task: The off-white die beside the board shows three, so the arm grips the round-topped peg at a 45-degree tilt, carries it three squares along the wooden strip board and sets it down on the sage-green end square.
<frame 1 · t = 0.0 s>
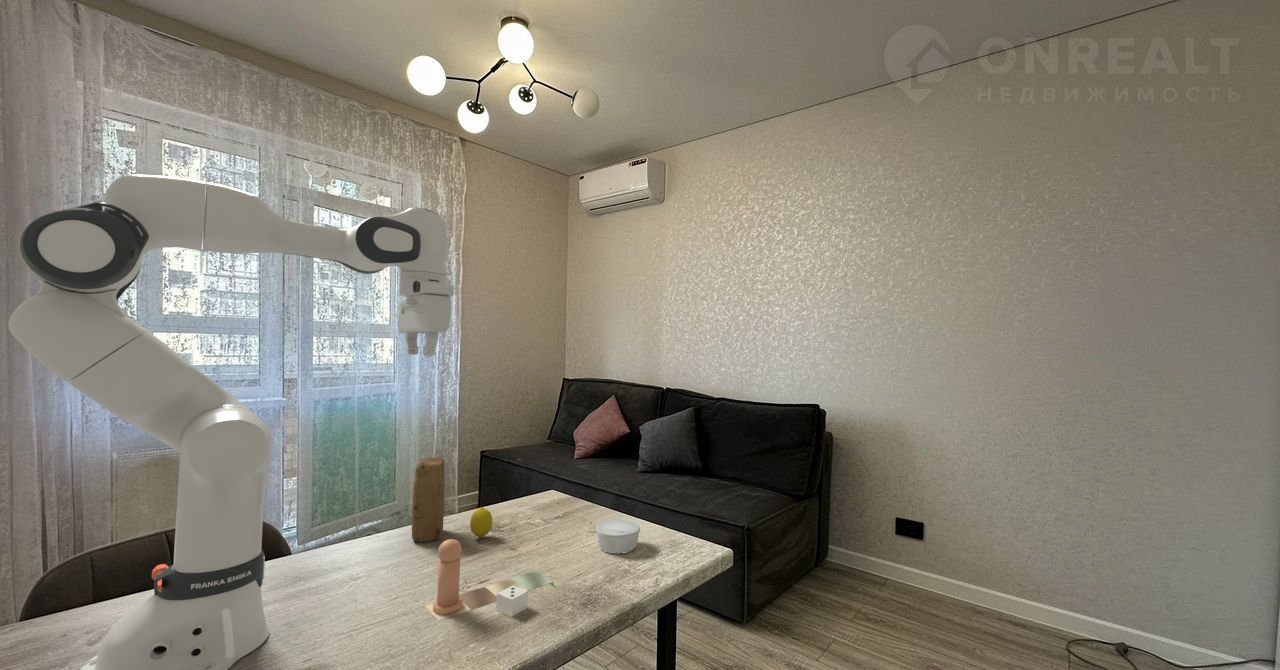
hand: (420, 355, 104), 48 cm above the table, tool pointing down, fingers open, 8 cm apart
board: (492, 597, 101), on the table
ramekin: (617, 548, 128), on the table
die: (511, 613, 95), on the table
lemon: (480, 539, 132), on the table
round-topped peg: (447, 607, 95), point 1 cm above the table, touching board
block: (427, 536, 132), on the table
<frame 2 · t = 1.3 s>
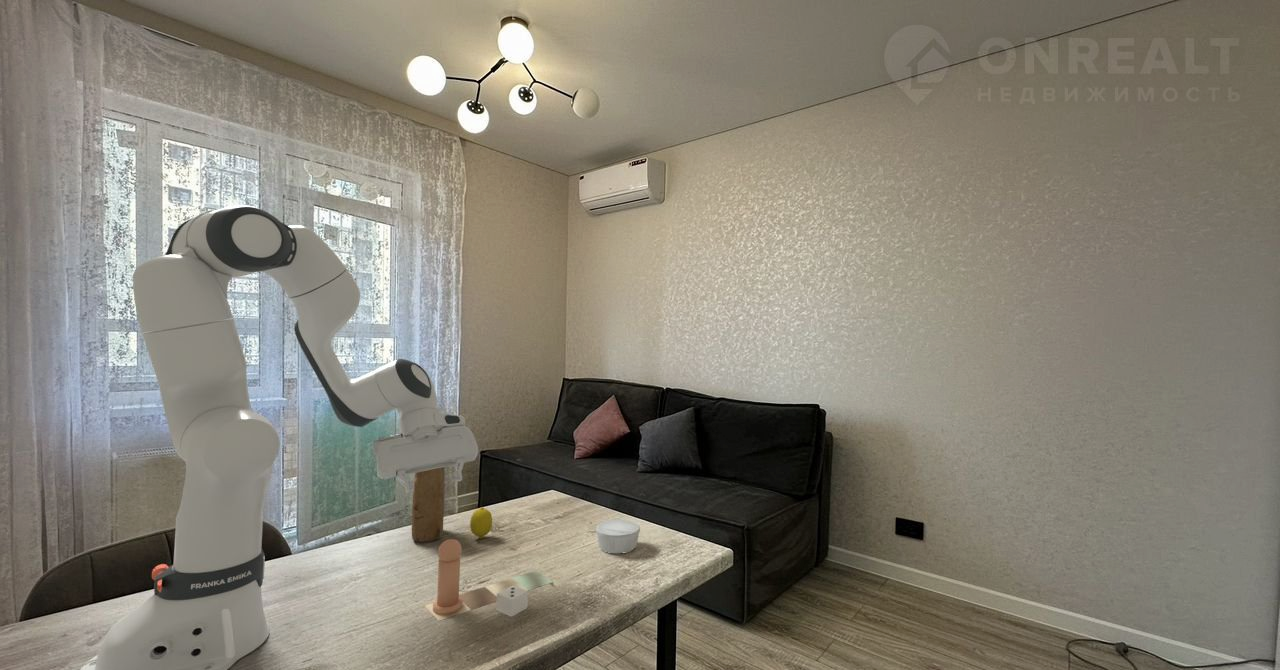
hand: (435, 485, 105), 21 cm above the table, tool tilted 45°, fingers open, 8 cm apart
nothing on the table moved.
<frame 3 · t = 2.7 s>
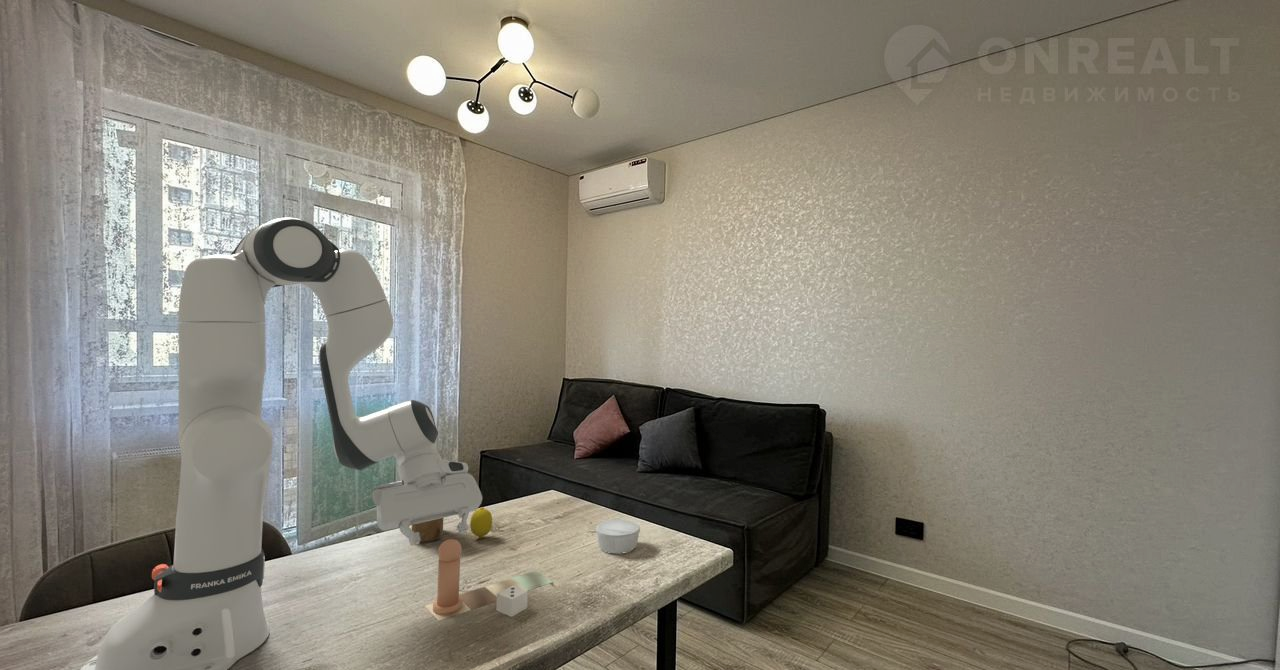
hand: (440, 537, 99), 12 cm above the table, tool tilted 45°, fingers open, 8 cm apart
nothing on the table moved.
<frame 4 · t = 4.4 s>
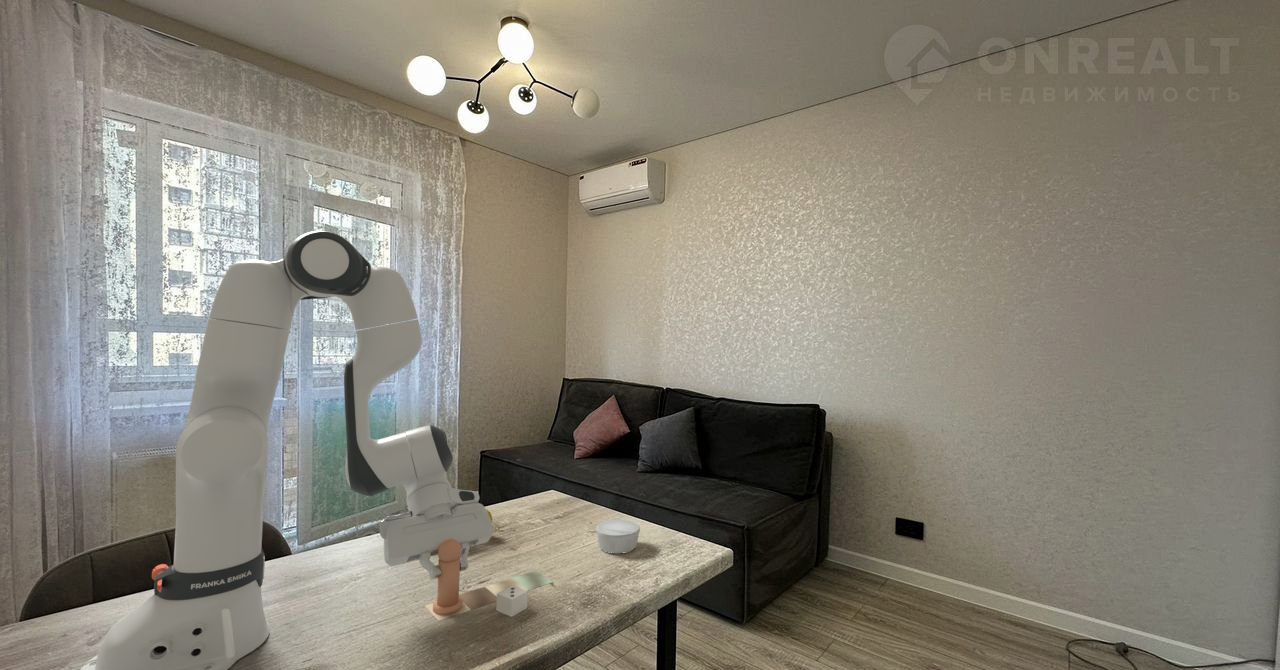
hand: (450, 573, 94), 7 cm above the table, tool tilted 45°, fingers closed on round-topped peg, 4 cm apart
round-topped peg: (447, 607, 95), point 1 cm above the table, touching board, gripper
everything else where it was.
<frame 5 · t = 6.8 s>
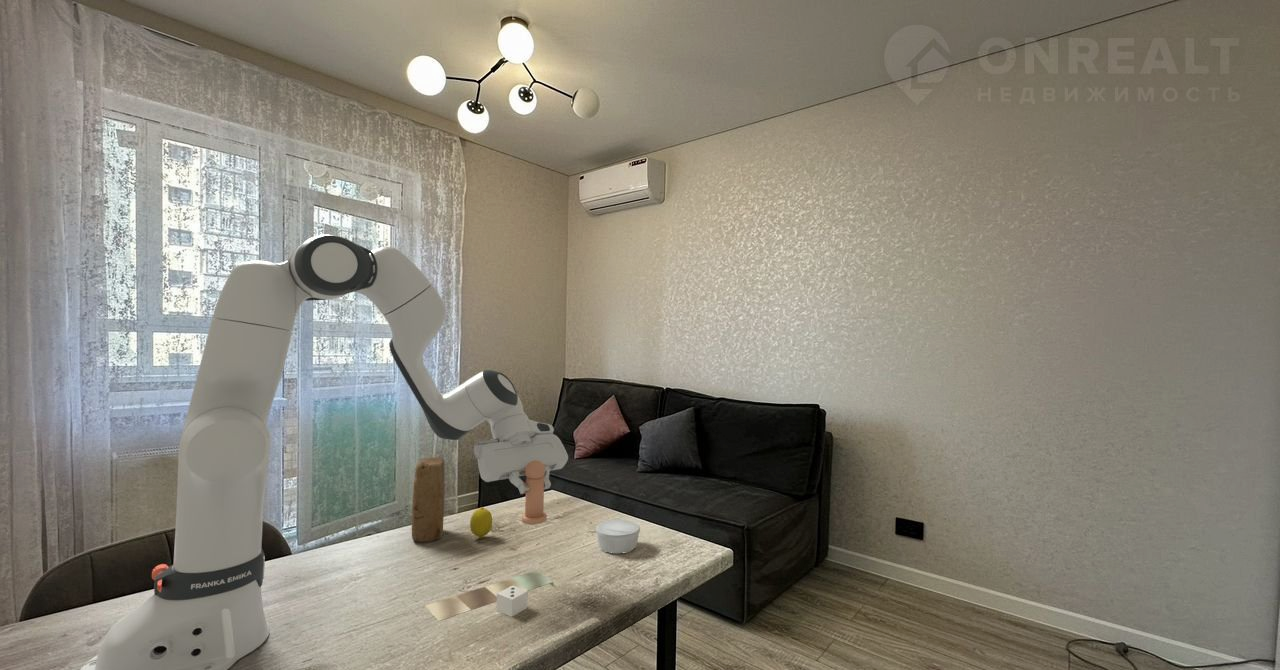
hand: (536, 489, 107), 20 cm above the table, tool tilted 45°, fingers closed on round-topped peg, 4 cm apart
round-topped peg: (534, 520, 107), point 13 cm above the table, touching gripper
everything else where it was.
when the fingers open (9 cm above the table, at t = 9.2 s): round-topped peg drops 1 cm, resting on board.
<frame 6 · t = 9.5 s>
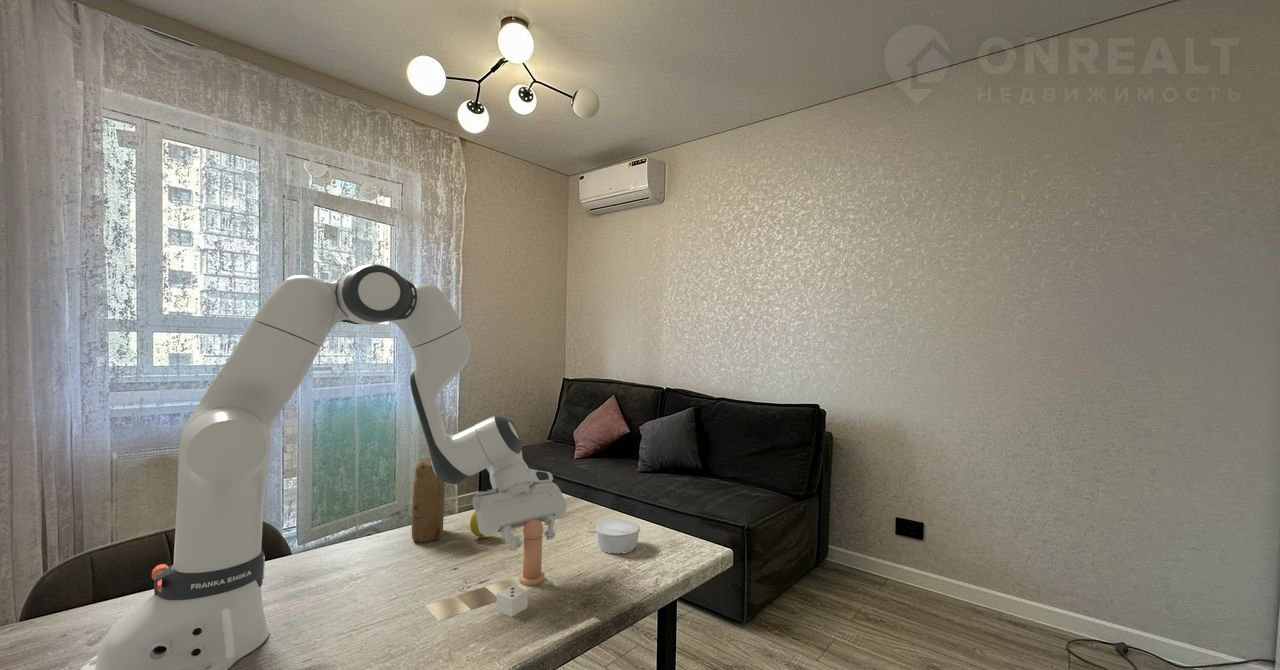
hand: (534, 542, 106), 9 cm above the table, tool tilted 45°, fingers open, 7 cm apart
round-topped peg: (531, 580, 107), point 1 cm above the table, touching board
everything else where it was.
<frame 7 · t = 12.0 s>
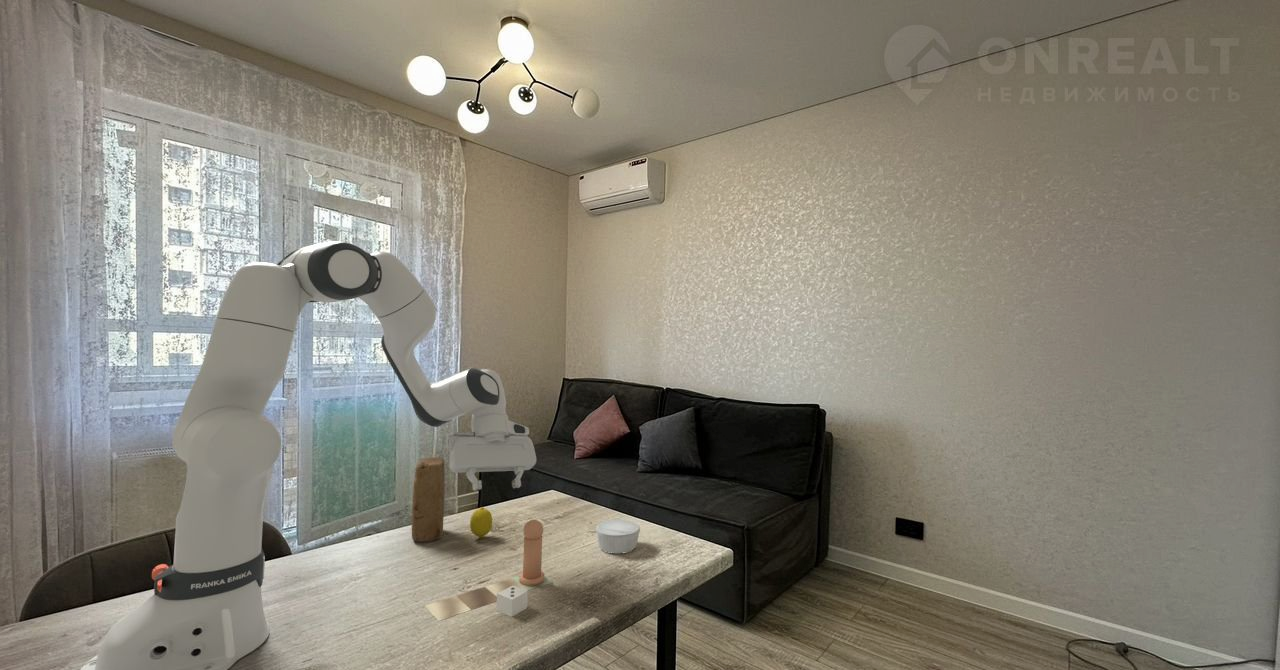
hand: (497, 488, 115), 18 cm above the table, tool tilted 35°, fingers open, 8 cm apart
nothing on the table moved.
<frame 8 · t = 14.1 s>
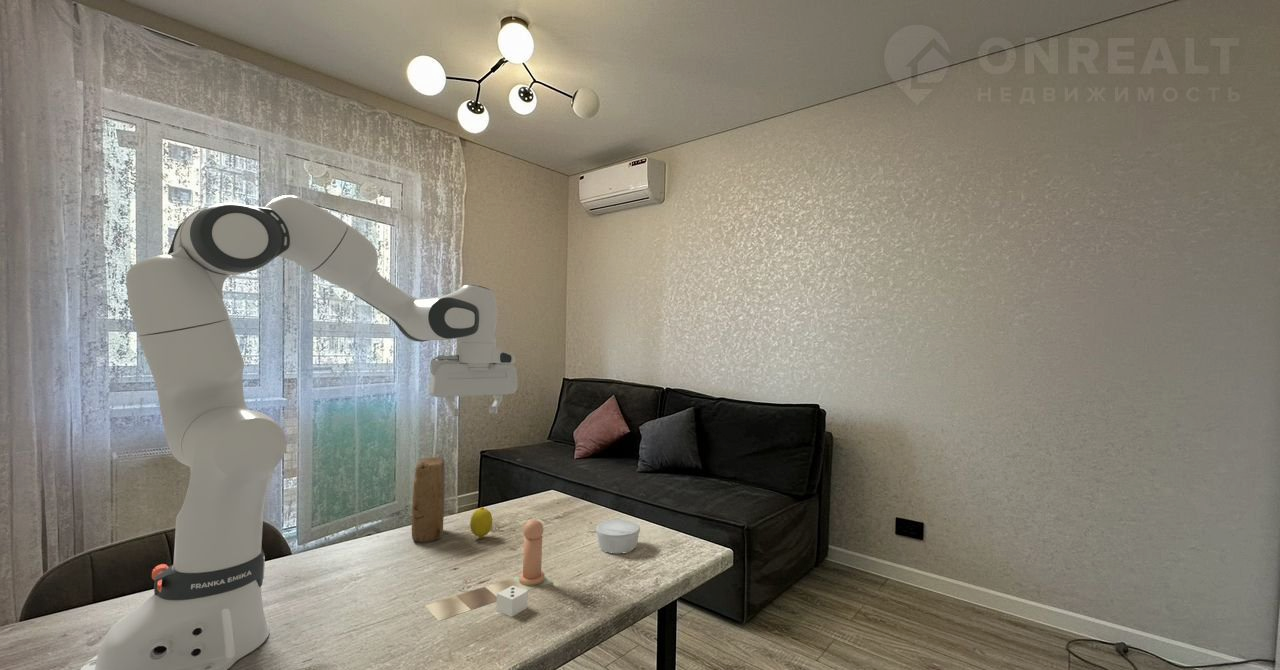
hand: (474, 415, 117), 34 cm above the table, tool pointing down, fingers open, 8 cm apart
nothing on the table moved.
at the end: round-topped peg inside the target area (0.4 cm from its centre), point 0.8 cm above the table; round-topped peg tilted 0°; the gripper is holding nothing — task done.
